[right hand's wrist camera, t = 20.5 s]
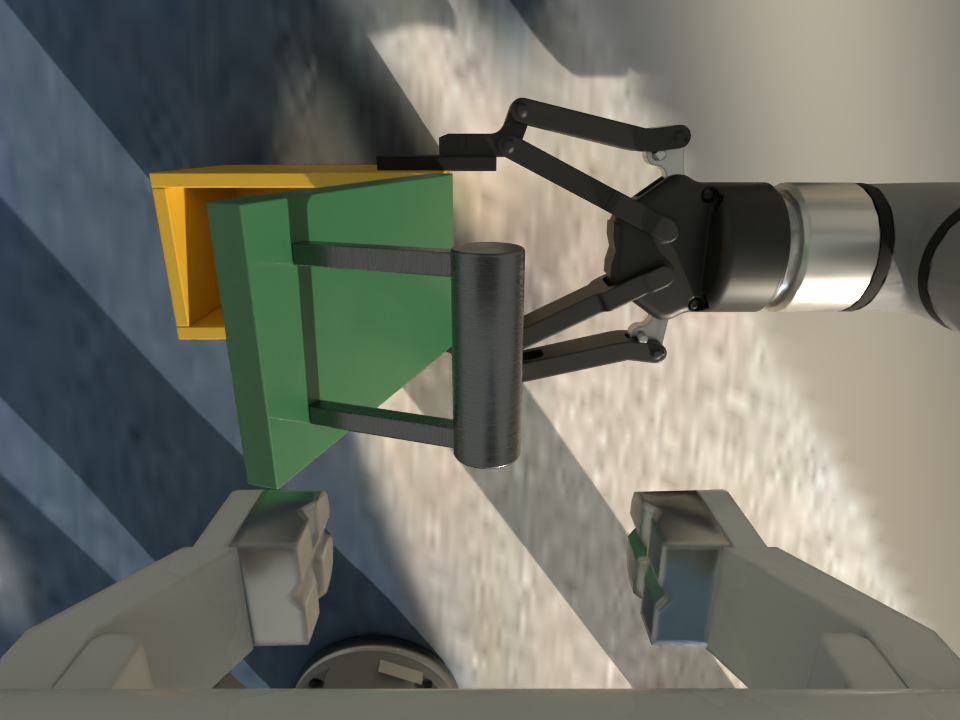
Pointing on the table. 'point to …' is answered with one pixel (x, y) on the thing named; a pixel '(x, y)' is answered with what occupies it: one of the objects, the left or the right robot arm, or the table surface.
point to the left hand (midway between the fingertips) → (385, 248)
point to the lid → (365, 321)
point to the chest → (189, 227)
